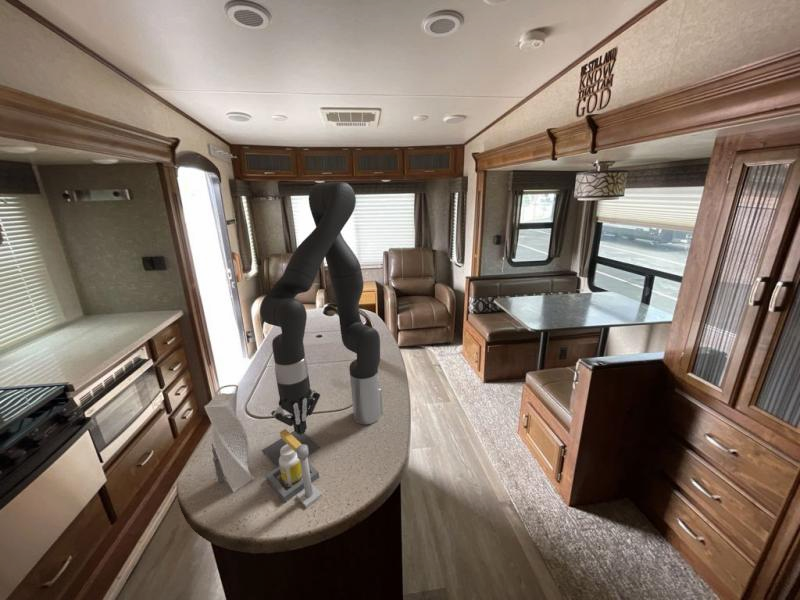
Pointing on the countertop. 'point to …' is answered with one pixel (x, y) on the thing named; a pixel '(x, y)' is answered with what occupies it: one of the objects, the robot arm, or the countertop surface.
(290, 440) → the yellow lever
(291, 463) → the supplement bottle
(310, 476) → the socket
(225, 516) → the countertop surface
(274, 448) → the mat
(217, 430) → the skyscraper
